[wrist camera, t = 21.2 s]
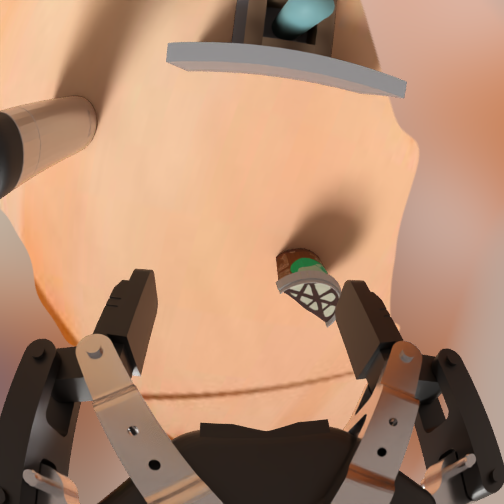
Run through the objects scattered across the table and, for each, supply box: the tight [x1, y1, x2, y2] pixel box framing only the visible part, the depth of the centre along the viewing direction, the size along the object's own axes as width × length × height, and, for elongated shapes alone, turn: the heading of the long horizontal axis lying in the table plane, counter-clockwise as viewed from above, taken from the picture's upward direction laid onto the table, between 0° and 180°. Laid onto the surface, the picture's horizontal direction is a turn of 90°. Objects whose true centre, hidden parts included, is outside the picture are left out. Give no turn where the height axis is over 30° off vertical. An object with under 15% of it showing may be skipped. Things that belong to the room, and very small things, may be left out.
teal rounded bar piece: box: [272, 0, 335, 41], centre depth 22 cm, size 4×4×12 cm
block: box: [244, 0, 337, 58], centre depth 25 cm, size 10×10×5 cm
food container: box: [276, 249, 341, 327], centre depth 43 cm, size 12×6×10 cm, turn 47°
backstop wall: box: [166, 42, 407, 98], centre depth 26 cm, size 24×2×12 cm, turn 84°
